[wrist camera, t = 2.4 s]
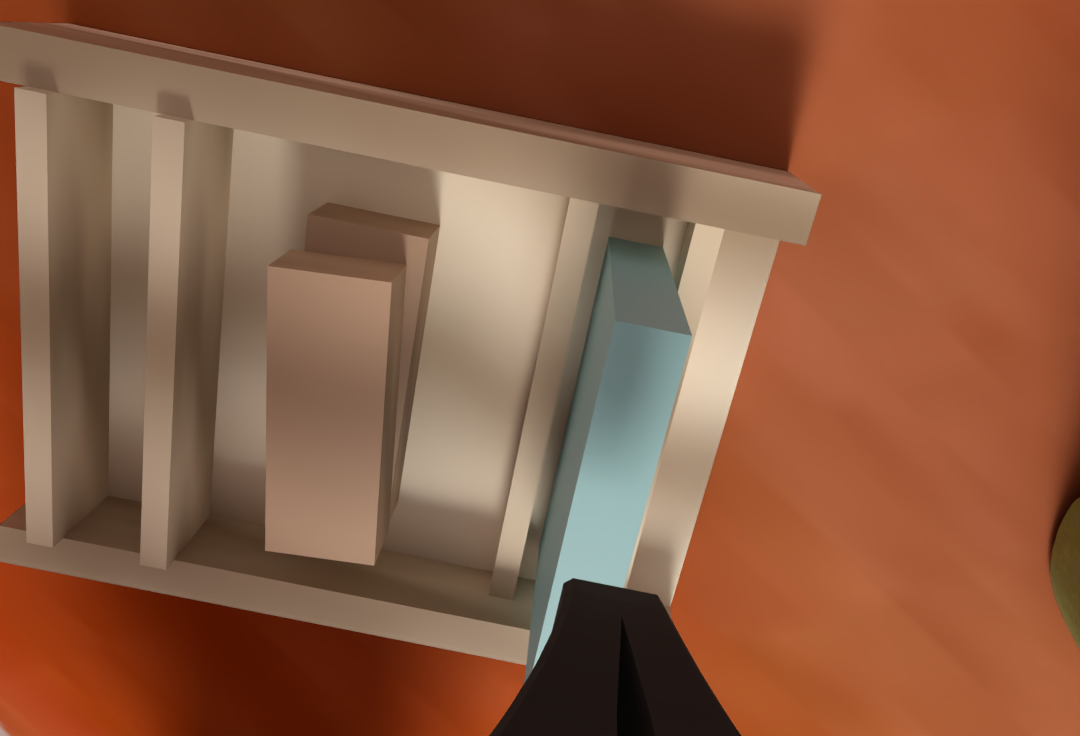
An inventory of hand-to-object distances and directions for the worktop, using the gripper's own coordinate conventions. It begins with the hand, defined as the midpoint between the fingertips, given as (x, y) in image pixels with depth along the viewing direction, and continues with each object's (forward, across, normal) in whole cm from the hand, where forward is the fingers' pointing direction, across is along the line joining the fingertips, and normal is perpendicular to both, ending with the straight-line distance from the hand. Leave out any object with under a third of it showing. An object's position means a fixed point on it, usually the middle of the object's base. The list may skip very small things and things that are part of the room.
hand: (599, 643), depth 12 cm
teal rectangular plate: (+8, 0, 0) cm, 8 cm away
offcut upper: (+7, +6, 0) cm, 9 cm away
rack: (+10, +5, 0) cm, 11 cm away
